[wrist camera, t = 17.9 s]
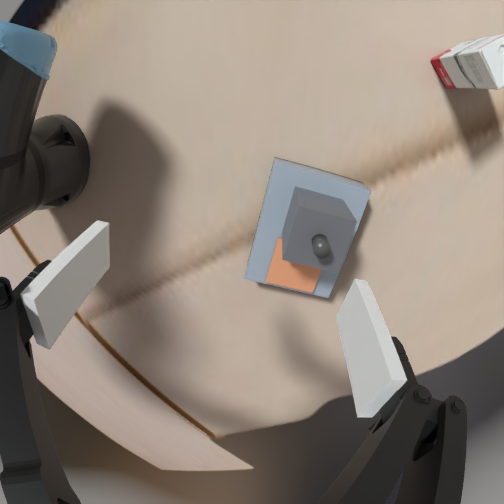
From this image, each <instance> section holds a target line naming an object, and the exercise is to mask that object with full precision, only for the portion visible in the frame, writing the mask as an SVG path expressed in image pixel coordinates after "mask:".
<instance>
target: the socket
mask: <svg viewBox="0 0 504 504" xmlns="http://www.w3.org/2000/svg"><path fill="white" fill-rule="evenodd" d="M295 186H296V187H300V188H304V189H307V190H311V191H315V192H318V193H322V194H325V195H329V196H332V197H336V198H339V199H343V200H344V202H345V203H346V205H347V206H348V208H349V209H350V211H351V213H352V214H353V216H354V217H355V219H356V221H357V224H356V226H355V229H354V232H353V234H352V237H351V239H350V242H349V245H348V247H347V250H346V252H345V255H344V257H343V259H342V262H341V264H340V267H339V269H338V271H337V273H335V272H331V271H327V270H322V271H321V273H320V276H319V278H318V281H317V283H316V285H315V288H314V290H313V293H311V292H306V291H302V290H297V289H293V288H288V287H284V286H280V285H275V284H271V283H267V282H265V280H266V277H267V273H268V270H269V267H270V263H271V260H272V257H273V253H274V250H275V246H276V243H277V240H278V237H281V238H282V230H283V227H284V223H285V220H286V216H287V213H288V209H289V206H290V202H291V199H292V195H293V192H294V188H295ZM370 193H371V191H370V190H369V189H368V188H367V187H366V186H365V185H364V184H363V183H362V182H359V181H356V180H353V179H350V178H347V177H343V176H340V175H337V174H334V173H330V172H327V171H324V170H320V169H317V168H313V167H310V166H306V165H303V164H299V163H295V162H291V161H288V160H284V159H280V158H276V157H275V158H274V162H273V166H272V170H271V174H270V178H269V182H268V186H267V190H266V194H265V197H264V201H263V205H262V209H261V213H260V217H259V221H258V225H257V229H256V233H255V237H254V240H253V244H252V248H251V252H250V256H249V260H248V264H247V269H246V274H245V279H247V280H251V281H255V282H260V283H264V284H268V285H273V286H277V287H281V288H286V289H290V290H295V291H299V292H304V293H308V294H313V295H317V296H322V297H326V298H328V297H329V295H330V293H331V291H332V288H333V286H334V284H335V282H336V279H337V277H338V275H339V272H340V270H341V268H342V265H343V263H344V261H345V258H346V256H347V253H348V251H349V249H350V246H351V244H352V241H353V239H354V236H355V233H356V231H357V228H358V226H359V223H360V221H361V218H362V215H363V213H364V210H365V207H366V204H367V202H368V199H369V196H370Z"/></svg>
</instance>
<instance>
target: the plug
mask: <svg viewBox="0 0 504 504" xmlns="http://www.w3.org/2000/svg"><path fill="white" fill-rule="evenodd" d="M356 224H357V221H356V219H355V217H354V216H353V214H352V213H351V211H350V209H349V208H348V206H347V205H346V203H345V202H344V200H343V199H339V198H336V197H332V196H329V195H325V194H322V193H318V192H315V191H311V190H307V189H304V188H300V187H296V186H295V188H294V192H293V195H292V199H291V202H290V206H289V209H288V213H287V216H286V220H285V223H284V227H283V230H282V260H284V261H288V262H293V263H297V264H301V265H305V266H310V267H314V268H318V269H322V270H327V271H331V272H335V273H337V271H338V269H339V267H340V264H341V262H342V259H343V257H344V255H345V252H346V250H347V247H348V245H349V242H350V239H351V237H352V234H353V232H354V229H355V226H356Z"/></svg>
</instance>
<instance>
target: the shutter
mask: <svg viewBox="0 0 504 504" xmlns="http://www.w3.org/2000/svg"><path fill="white" fill-rule="evenodd" d="M321 271H322V269H318V268H314V267H310V266H305V265H301V264H297V263H293V262H288V261H284V260H282V238H281V237H278V240H277V243H276V246H275V250H274V253H273V257H272V260H271V263H270V267H269V270H268V273H267V277H266V280H265V282H267V283H271V284H275V285H280V286H284V287H288V288H293V289H297V290H302V291H306V292H311V293H313V290H314V288H315V285H316V283H317V281H318V278H319V276H320V273H321Z"/></svg>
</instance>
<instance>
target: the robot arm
mask: <svg viewBox="0 0 504 504" xmlns="http://www.w3.org/2000/svg"><path fill="white" fill-rule="evenodd" d="M56 52H57V42H56V40H55V38H53V37H52V36H51V35H48V34H45V33H42V32H39V31H36V30H33V29H30V28H26V27H23V26H20V25H16V24H13V23H9V22H5V21H1V20H0V234H1V233H3V232H4V231H5V230H7V229H8V228H10V227H11V226H12V225H14V224H15V223H17V222H18V221H20V220H21V219H23V218H24V217H26V216H27V215H29V214H30V213H32V212H33V211H35V210H44V209H54V208H59V207H62V206H64V205H66V204H68V203H69V202H71V201H73V200H74V199H75V198H76V197H77V196H78V195H79V194H80V193H81V192H82V190H83V188H84V186H85V184H86V181H87V178H88V173H89V151H88V147H87V143H86V140H85V137H84V135H83V133H82V131H81V130H80V128H79V127H78V126H77V125H76V123H75V122H73V121H72V120H71V119H69V118H68V117H66V116H63V115H50V116H45V117H41V118H39V119H37V120H35V121H34V119H35V115H36V112H37V108H38V105H39V102H40V99H41V96H42V93H43V90H44V87H45V84H46V82H47V80H49V72H50V69H51V66H52V63H53V60H54V57H55V55H56ZM109 268H110V249H109V223H107V222H103V221H98V220H97V221H96V222H95V223H93V224H92V225H91V226H90V227H89V228H88V229H86V230H85V231H84V232H83V233H82V234H81V235H80V236H79V237H77V238H76V239H75V240H74V241H73V242H72V243H71V244H70V245H69V246H68V247H67V248H65V249H64V250H63V251H62V252H61V253H60V254H59V255H58V256H57V257H56V258H55V259H54V260H53V261H50V260H47V261H45V262H43V263H41V264H39V265H38V266H37V267H36V268H35V269H34V270H33V272H31V273H30V274H29V275H28V277H26V278H25V279H24V280H23V281H22V282H21V283H20V284H19V285H18V286H17V287H16V288H15V289H14V290H13V291H12V288H11V284H10V281H9V280H8V279H7V278H5V277H0V455H1V459H2V463H3V467H4V469H3V472H1V474H0V481H1V485H2V488H3V492H4V495H5V497H6V500H7V503H8V504H81V502H80V500H79V499H78V497H77V495H76V494H75V492H74V491H73V490H72V488H71V486H70V485H69V483H68V480H67V478H66V475H65V473H64V470H63V468H62V465H61V463H60V460H59V457H58V454H57V452H56V449H55V446H54V443H53V440H52V437H51V433H50V430H49V427H48V423H47V420H46V416H45V412H44V409H43V405H42V401H41V396H40V392H39V388H38V383H37V377H36V372H35V367H34V361H33V354H32V347H31V343H30V341H29V340H30V338H31V337H32V335H33V334H34V337H35V340H36V342H37V344H39V345H41V346H43V347H45V348H48V349H51V347H52V346H53V344H54V343H55V341H56V340H57V338H58V337H59V335H60V334H61V333H62V331H63V330H64V328H65V327H66V325H67V324H68V322H69V321H70V320H71V318H72V317H73V315H74V314H75V312H76V311H77V310H78V308H79V307H80V306H81V304H82V303H83V301H84V300H85V299H86V297H87V296H88V295H89V293H90V292H91V291H92V289H93V288H94V287H95V285H96V284H97V283H98V282H99V280H100V279H101V278H102V276H103V275H104V274H105V273H106V271H107V270H108V269H109ZM336 321H337V325H338V329H339V333H340V338H341V342H342V346H343V351H344V355H345V359H346V364H347V369H348V373H349V378H350V383H351V387H352V392H353V397H354V403H355V408H356V413H357V417H373V416H374V415H375V414H376V413H377V412H378V411H379V410H380V414H381V418H380V419H379V420H378V421H376V422H375V424H373V425H372V426H371V427H370V428H369V430H371V429H372V430H371V431H370V433H369V434H368V436H367V438H366V439H365V440H364V442H363V444H362V445H361V446H360V448H359V449H358V451H357V452H356V454H355V455H354V456H353V458H352V459H351V461H350V462H349V463H348V464H347V466H346V467H345V468H344V470H343V471H342V472H341V474H340V475H339V476H338V478H337V479H336V480H335V481H334V483H333V484H332V485H331V486H330V487H329V489H328V490H327V491H326V492H325V494H324V495H323V496H322V497H321V498H320V499H319V501H318V502H317V503H316V504H384V503H385V501H386V500H387V498H388V497H389V495H390V493H391V491H392V489H393V488H394V486H395V484H396V483H397V481H398V479H399V477H400V475H401V473H402V471H403V470H404V472H403V476H402V480H401V484H400V487H399V491H398V495H397V498H396V501H395V504H460V502H461V496H462V489H463V481H464V471H465V458H466V440H467V410H466V406H465V404H464V402H463V401H462V400H461V399H460V398H458V397H457V396H449V397H448V398H447V399H446V400H445V401H444V402H442V401H439V400H436V399H433V398H432V395H431V394H430V392H429V390H428V389H426V388H425V387H424V386H422V385H418V383H417V380H416V378H415V375H414V372H413V370H412V367H411V365H410V362H408V357H407V355H406V352H405V350H404V347H403V345H402V344H401V342H400V341H399V340H398V339H397V338H396V337H391V336H390V333H389V331H388V328H387V326H386V323H385V321H384V319H383V316H382V314H381V312H380V309H379V307H378V305H377V302H376V300H375V298H374V295H373V293H372V291H371V289H370V287H369V284H368V282H367V281H363V280H359V279H354V281H353V284H352V286H351V288H350V290H349V292H348V294H347V296H346V298H345V300H344V302H343V304H342V306H341V308H340V310H339V312H338V314H337V316H336Z"/></svg>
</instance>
